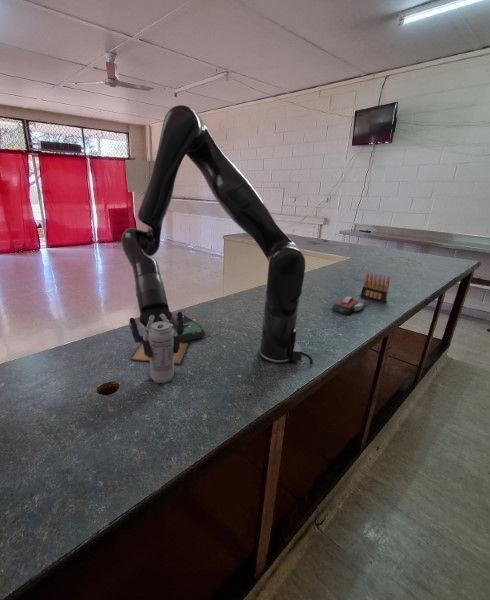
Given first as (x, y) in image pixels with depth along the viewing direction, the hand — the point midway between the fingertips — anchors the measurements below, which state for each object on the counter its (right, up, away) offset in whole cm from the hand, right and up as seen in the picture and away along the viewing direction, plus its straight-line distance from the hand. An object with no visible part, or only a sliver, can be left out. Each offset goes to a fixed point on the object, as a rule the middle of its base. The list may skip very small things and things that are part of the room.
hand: (163, 354), depth 78 cm
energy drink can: (-1, -7, +4) cm, 8 cm away
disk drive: (+2, +3, +29) cm, 30 cm away
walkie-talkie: (+71, +10, +55) cm, 91 cm away
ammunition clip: (+86, +13, +65) cm, 109 cm away
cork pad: (-3, -2, +17) cm, 17 cm away
